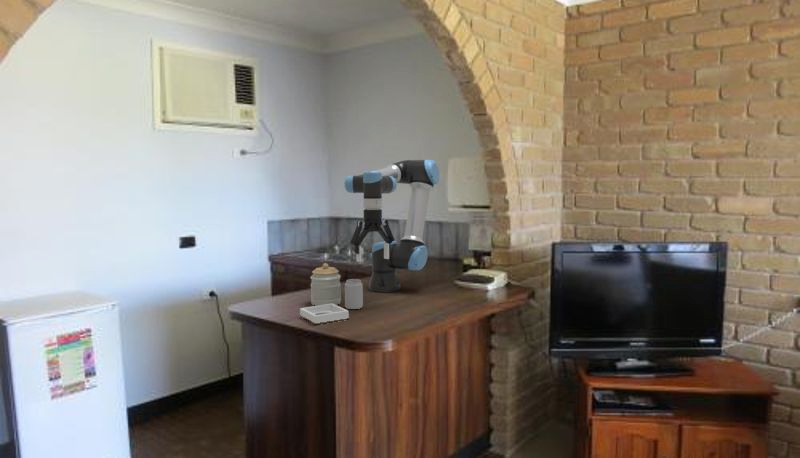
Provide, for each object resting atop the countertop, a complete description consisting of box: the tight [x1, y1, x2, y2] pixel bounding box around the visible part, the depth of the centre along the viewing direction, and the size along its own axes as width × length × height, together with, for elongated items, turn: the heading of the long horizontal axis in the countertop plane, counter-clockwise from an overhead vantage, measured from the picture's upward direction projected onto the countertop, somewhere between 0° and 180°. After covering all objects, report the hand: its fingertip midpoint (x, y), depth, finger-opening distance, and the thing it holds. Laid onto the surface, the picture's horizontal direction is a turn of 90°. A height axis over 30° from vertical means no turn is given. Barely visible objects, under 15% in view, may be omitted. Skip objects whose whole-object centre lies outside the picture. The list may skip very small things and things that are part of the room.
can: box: [344, 278, 364, 310], centre depth 225 cm, size 8×8×12 cm
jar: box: [310, 262, 342, 306], centre depth 233 cm, size 13×13×18 cm
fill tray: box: [299, 304, 350, 323], centre depth 211 cm, size 14×14×4 cm
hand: (372, 260), depth 224 cm, fingers open, 13 cm apart
